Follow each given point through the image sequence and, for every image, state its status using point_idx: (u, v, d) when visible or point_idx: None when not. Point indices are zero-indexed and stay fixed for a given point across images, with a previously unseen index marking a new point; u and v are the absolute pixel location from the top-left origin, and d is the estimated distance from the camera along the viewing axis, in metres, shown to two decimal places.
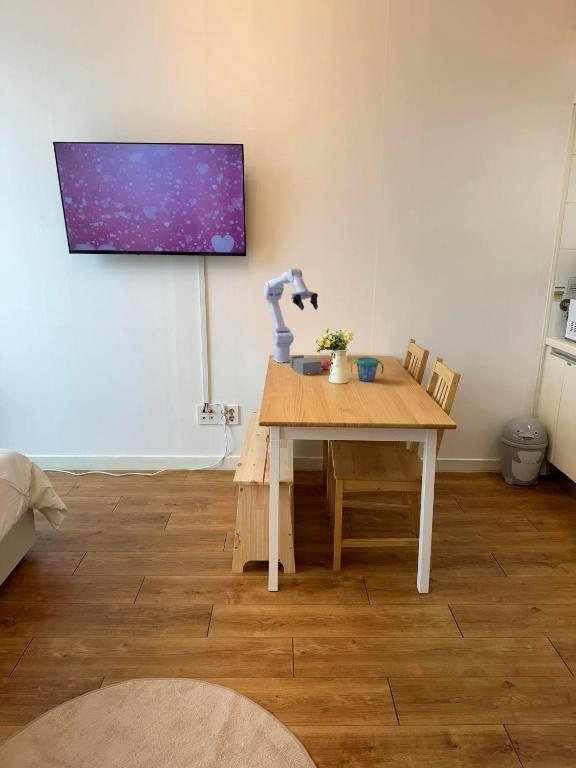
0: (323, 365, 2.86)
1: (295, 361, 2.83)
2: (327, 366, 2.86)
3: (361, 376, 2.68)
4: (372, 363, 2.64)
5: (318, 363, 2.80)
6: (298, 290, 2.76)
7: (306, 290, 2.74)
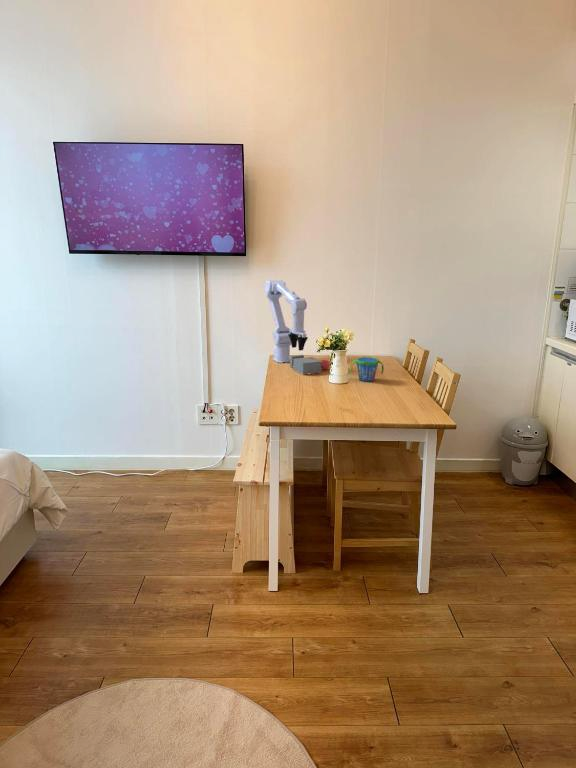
0: (323, 365, 2.86)
1: (295, 361, 2.83)
2: (327, 366, 2.86)
3: (361, 376, 2.68)
4: (372, 363, 2.64)
5: (318, 363, 2.80)
6: (302, 328, 2.86)
7: None
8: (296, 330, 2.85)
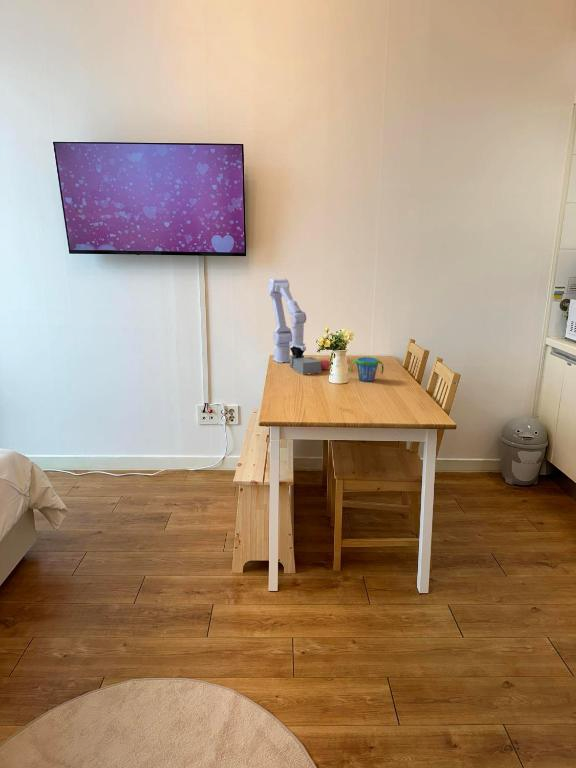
0: (323, 365, 2.86)
1: (295, 361, 2.83)
2: (327, 366, 2.86)
3: (361, 376, 2.68)
4: (372, 363, 2.64)
5: (318, 363, 2.80)
6: (302, 341, 2.88)
7: None
8: (296, 343, 2.87)
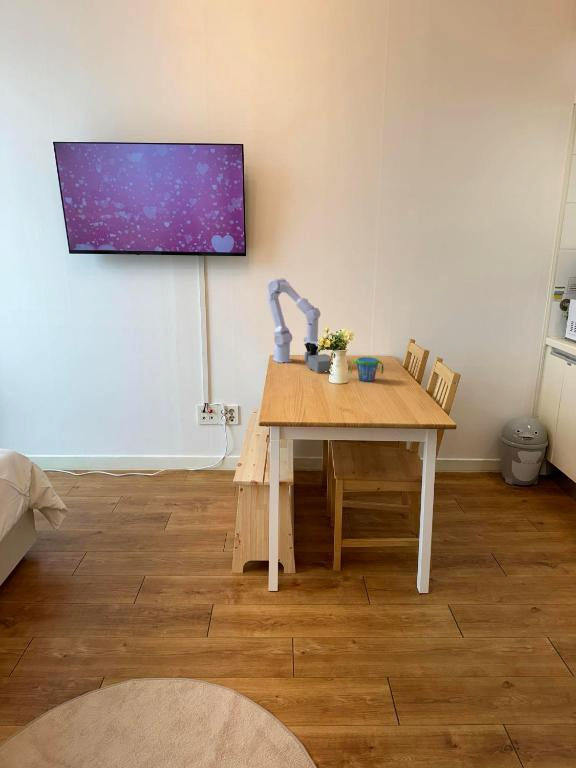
0: None
1: (310, 358, 2.87)
2: None
3: (361, 376, 2.68)
4: (372, 363, 2.64)
5: None
6: (316, 337, 2.91)
7: None
8: (310, 339, 2.91)
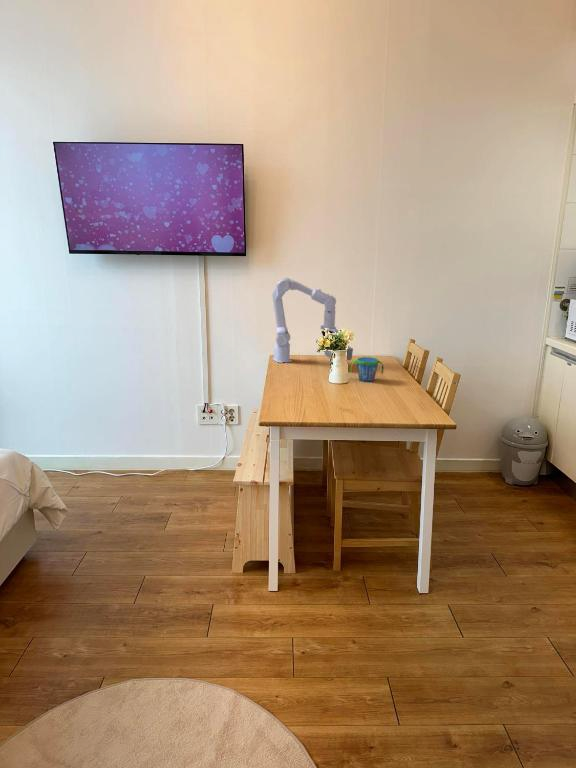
0: None
1: None
2: None
3: (361, 376, 2.68)
4: (372, 363, 2.64)
5: (350, 350, 2.87)
6: (333, 325, 2.94)
7: None
8: (328, 326, 2.94)
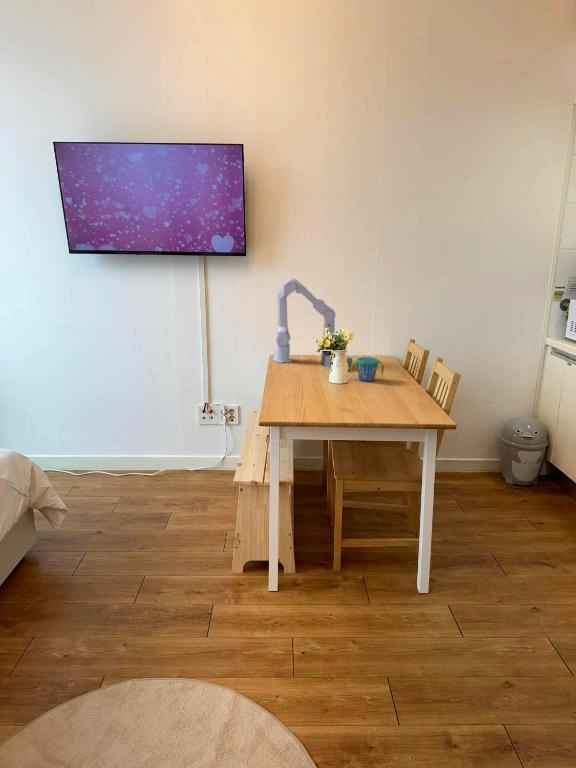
0: None
1: (327, 358, 2.91)
2: None
3: (361, 376, 2.68)
4: (372, 363, 2.64)
5: (349, 360, 2.88)
6: None
7: None
8: None
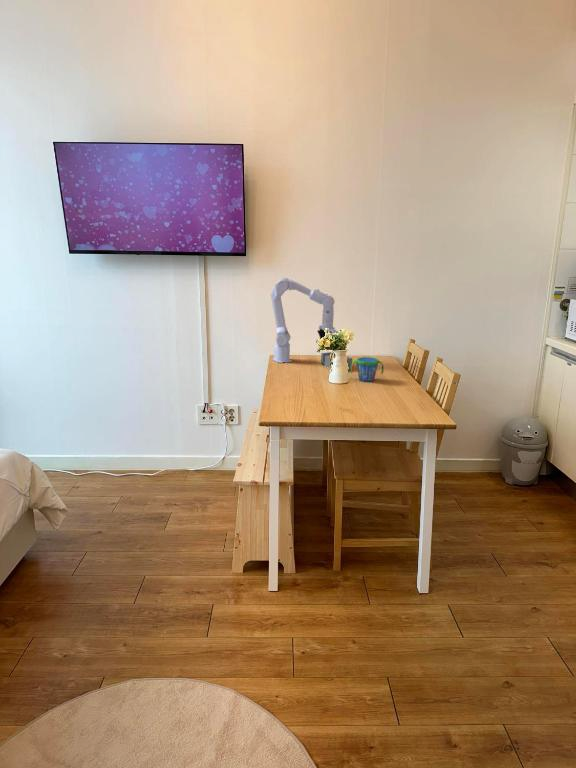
0: None
1: (327, 358, 2.91)
2: None
3: (361, 376, 2.68)
4: (372, 363, 2.64)
5: (349, 360, 2.88)
6: (332, 325, 2.94)
7: None
8: (326, 327, 2.94)
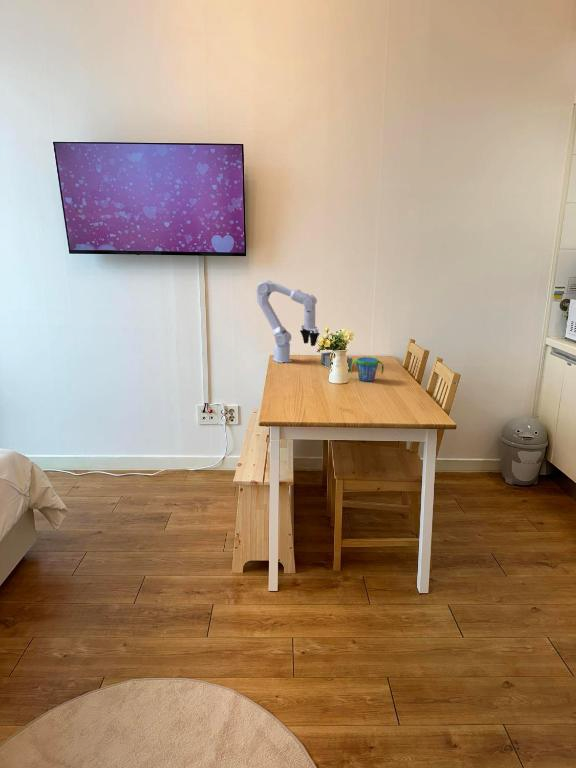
0: None
1: (327, 358, 2.91)
2: None
3: (361, 376, 2.68)
4: (372, 363, 2.64)
5: (349, 360, 2.88)
6: (314, 324, 2.94)
7: None
8: (308, 326, 2.93)
